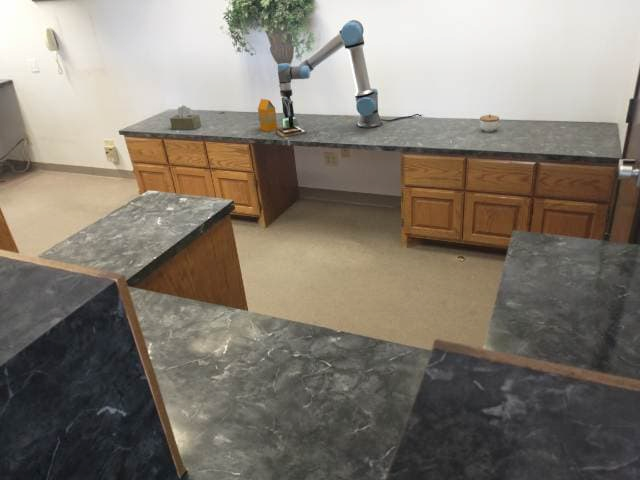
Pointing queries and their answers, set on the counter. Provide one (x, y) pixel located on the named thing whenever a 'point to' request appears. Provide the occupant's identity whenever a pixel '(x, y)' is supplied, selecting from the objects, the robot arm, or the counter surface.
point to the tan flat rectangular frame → (289, 131)
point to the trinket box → (489, 122)
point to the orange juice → (267, 116)
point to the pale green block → (286, 122)
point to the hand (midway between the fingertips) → (289, 125)
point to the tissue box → (185, 120)
